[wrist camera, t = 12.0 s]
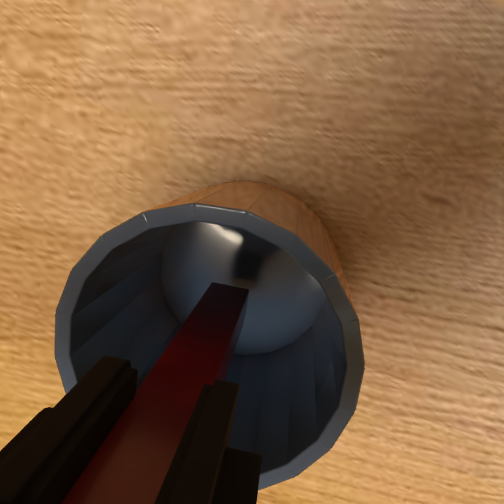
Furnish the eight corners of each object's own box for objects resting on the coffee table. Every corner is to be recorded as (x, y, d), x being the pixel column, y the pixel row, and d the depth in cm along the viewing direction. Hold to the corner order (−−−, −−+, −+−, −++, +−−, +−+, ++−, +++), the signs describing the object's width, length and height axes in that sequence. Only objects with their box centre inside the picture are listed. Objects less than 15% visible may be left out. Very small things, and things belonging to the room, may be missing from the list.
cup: (323, 165, 19) (339, 177, 11) (349, 347, 21) (381, 484, 12) (137, 198, 21) (16, 233, 12) (177, 366, 23) (97, 502, 14)
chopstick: (250, 288, 17) (71, 765, 4) (243, 324, 18) (60, 877, 4) (211, 281, 17) (-96, 719, 4) (206, 317, 18) (-91, 830, 4)
